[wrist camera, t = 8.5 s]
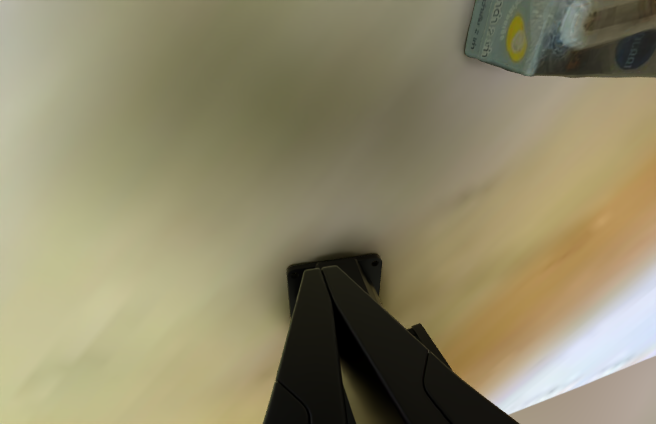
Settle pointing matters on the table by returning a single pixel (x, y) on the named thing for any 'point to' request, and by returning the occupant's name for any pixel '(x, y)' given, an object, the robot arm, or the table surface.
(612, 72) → the printed cardboard box
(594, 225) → the table surface
